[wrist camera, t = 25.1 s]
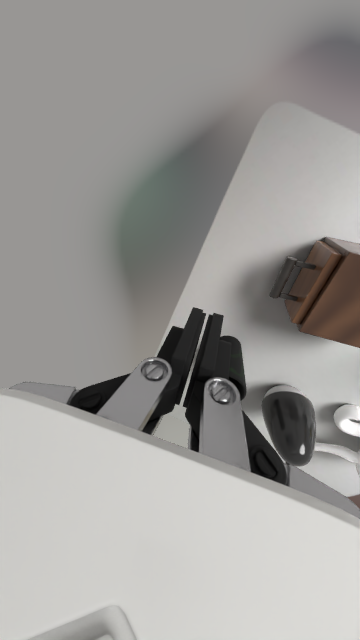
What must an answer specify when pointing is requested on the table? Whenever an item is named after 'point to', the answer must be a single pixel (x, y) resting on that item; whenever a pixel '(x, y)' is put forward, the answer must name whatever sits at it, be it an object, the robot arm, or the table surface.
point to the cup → (236, 366)
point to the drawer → (306, 279)
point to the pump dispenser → (290, 423)
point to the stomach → (347, 427)
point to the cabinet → (338, 299)
